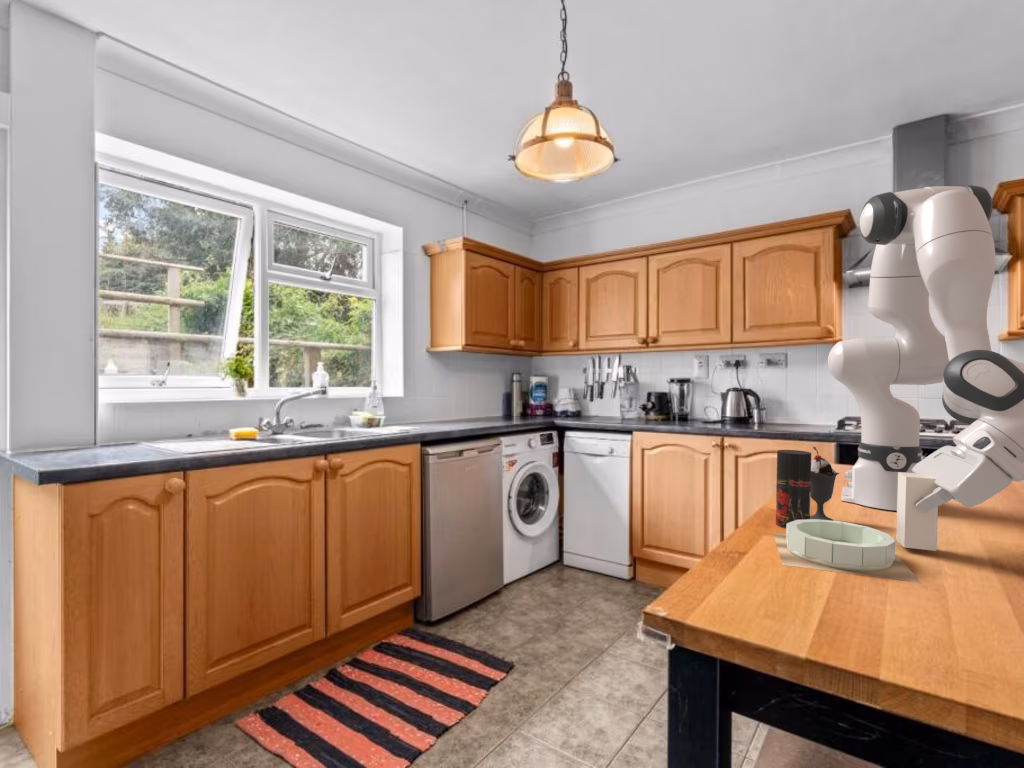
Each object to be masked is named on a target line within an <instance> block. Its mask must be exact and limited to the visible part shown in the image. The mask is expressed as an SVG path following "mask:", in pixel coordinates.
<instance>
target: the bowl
mask: <svg viewBox="0 0 1024 768" xmlns="http://www.w3.org/2000/svg"><path fill="white" fill-rule="evenodd" d="M785 534H786V542H787V549H788V551H789V552H790V553H792V554H793V555H795V556H796V557H799V558H801V559H803V560H806V561H809V562H812V563H815V564H819V565H823V566H827V567H832V568H837V569H844V570H852V571H882V570H886V569H889V568H891V567H892V565H893V561H894V560H895V555H896V539H894V538H893V537H892V536H891V535H890V534H889V533H887V532H884V531H881V530H879V529H876V528H872V527H871V526H866V525H860V524H856V523H852V522H851V523H850V522H847V521H840V520H833V521H831V520H821V519H818V520H817V519H805V520H795V521H792V522H789V523H787V524H786V529H785Z"/></svg>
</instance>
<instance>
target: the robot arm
mask: <svg viewBox="0 0 1024 768" xmlns="http://www.w3.org/2000/svg"><path fill="white" fill-rule="evenodd" d="M993 207H994V206H993V198H992V196H991V194H990V192H989V191H988V190H987V188H985V187H982V186H978V185H972V184H971V185H969V184H963V185H960V186H953V185H952V186H951V185H945V186H943V185H938V186H937V185H936V186H934V185H933V186H925V187H923V188H914V189H907V190H902V191H896V192H892V191H888V192H883V193H880V194H879V193H878V194H877V195H874V196H873V195H872V196H871V198H869V199H868V200H867V202H865V204H864V206H862V211H861V214H860V217H859V231H860V235H861V236H862V238H863V240H865V241H866V243H868V244H872V245H875V249H874V253H873V257H872V261H871V267H870V273H869V274H870V275H869V276H870V277H869V287H868V297H867V298H868V299H867V309H868V311H869V313H870V314H871V315H872V316H873V317H874V318H876V319H878V320H880V321H883V322H884V323H887V324H890V325H892V326H893V327H894V333H895V335H894V336H892V337H890V336H889V337H887V336H886V337H857V338H850V339H845V340H844V339H843V340H841V341H840V340H839V341H838V342H836V343H835V344H834V345H833V346H832V347H831V349H830V351H829V354H828V356H827V368H828V370H829V372H830V374H831V376H832V377H833V378H834V379H835V380H837V382H839V383H841V384H842V385H844V386H845V388H847V389H848V390H849V391H850V393H851V394H852V395H853V396H854V399H855V400H856V403H857V405H858V408H859V413H860V423H861V424H860V427H861V430H860V431H861V432H860V433H861V439H860V441H859V444H858V447H857V456H858V459H857V460H856V462H855V463H854V465H853V466H852V469H848V471H844V480H845V481H847V482H848V481H849V482H848V483H847V486H845V485H844V486H842V489H841V495H840V497H841V498H840V500H841V501H843V502H847V503H853V504H858V505H862V506H864V507H870V508H874V509H881V510H888V511H895V512H897V494H898V472H904V473H920V474H928V475H930V476H932V477H934V478H935V479H936V480H935V481H934V484H935V485H937V486H939V487H938V488H936V489H935V490H934V491H933V493H931V494H930V495H928V496H926V497H924V498H922V497H921V498H920V499H918V501H916V502H915V503H914V505H915V506H916V507H917V508H918V509H919V510H920V511H921V512H923V513H927V512H928V511H929V510H931V509H932V508H934V507H937V506H938V507H939V506H942V505H945V504H948V502H950V501H951V500H954V501H956V502H958V503H959V504H961V505H962V506H964V507H967V508H971V507H974V506H978V505H981V504H983V503H985V502H986V501H988V500H989V499H990V498H993V497H994V496H996V495H998V493H1000V492H1003V490H1005V489H1006V488H1007V487H1009V486H1010V485H1011V484H1012V482H1015V483H1020V482H1021V481H1023V480H1024V362H1021V361H1018V360H1014V359H1011V358H1009V357H1006V356H1004V355H1002V354H1001V353H998V352H995V351H993V350H992V347H991V341H990V340H991V339H990V335H989V329H988V320H987V317H988V307H989V301H990V296H991V292H992V289H993V288H992V287H993V283H994V278H995V271H996V246H995V241H994V237H993V231H992V228H991V226H990V222H989V221H990V220H991V217H992V212H993ZM930 299H931V301H932V303H933V305H934V308H935V310H936V312H937V314H938V315H937V316H938V317H939V319H940V323H941V326H942V329H943V333H944V334H943V333H941V331H940V330H939V329H938V328H937V326H936V325H935V323H934V321H933V319H932V316H931V313H930ZM940 383H942V396H941V399H942V400H941V401H942V406H943V408H944V410H945V411H946V412H947V413H948V415H949V416H950V417H952V418H953V419H954V420H956V421H958V422H961V423H963V424H967V425H968V426H966V427H965V428H964V429H963V430H961V431H960V432H959V433H957V434H956V435H955V436H954V437H952V441H953V443H954V444H955V446H952V445H944V446H941V447H940V448H938V449H937V450H935V451H933V452H932V453H930V454H929V455H928V456H926V457H924V458H923V459H922V456H923V452H922V446H921V445H920V428H921V427H920V424H921V423H920V422H921V421H920V420H921V416H920V414H919V412H918V410H917V408H916V407H914V406H913V405H911V404H909V403H908V402H906V401H904V400H902V399H899V398H896V397H895V396H894V395H893V394H892V392H891V388H890V387H891V385H906V386H907V385H910V386H911V385H914V386H915V385H916V386H917V385H918V386H927V385H933V384H934V385H935V384H940Z"/></svg>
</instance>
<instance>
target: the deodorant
mask: <svg viewBox="0 0 1024 768" xmlns="http://www.w3.org/2000/svg"><path fill="white" fill-rule="evenodd" d="M811 463H812V452H810V451H805V450H797V449H777V451H776V490H775V491H776V497H775V525H776V526H777V527H780V528H782V529H785V530H786V524H787V523H789V522H792V521H795V520H805V519H810V516H811V497H810V492H811Z"/></svg>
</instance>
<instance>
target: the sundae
mask: <svg viewBox="0 0 1024 768" xmlns="http://www.w3.org/2000/svg"><path fill="white" fill-rule="evenodd" d="M812 448H813V450H815V451H816V453H817V454H816V455H814V458H813V460H812V461H811V492H810V499H812V500H813V501H815V503H816V511H815V514H810V519H817V520H818V519H821V520H831V521H834V519H833V518H831V517H828V516H827V515H826V514H825V512H824V504H825V503H827V502H829V501H830V500H831V498H832V497H833V496H832V495H833V492H834V488H835V482H836V478H837V475H839V474H840V472H836V471H835V469H833V468H832V465H831V463H830V462H829V461H828V459H825V458H823V457H822V456H821V455H819V451H818V449H817V448H816V446H813V447H812Z"/></svg>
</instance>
